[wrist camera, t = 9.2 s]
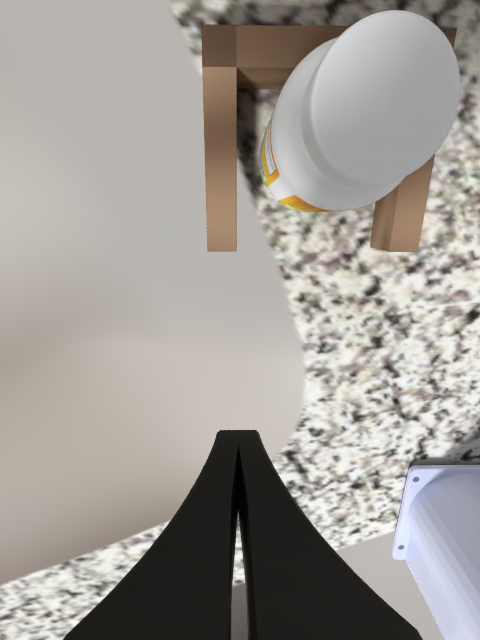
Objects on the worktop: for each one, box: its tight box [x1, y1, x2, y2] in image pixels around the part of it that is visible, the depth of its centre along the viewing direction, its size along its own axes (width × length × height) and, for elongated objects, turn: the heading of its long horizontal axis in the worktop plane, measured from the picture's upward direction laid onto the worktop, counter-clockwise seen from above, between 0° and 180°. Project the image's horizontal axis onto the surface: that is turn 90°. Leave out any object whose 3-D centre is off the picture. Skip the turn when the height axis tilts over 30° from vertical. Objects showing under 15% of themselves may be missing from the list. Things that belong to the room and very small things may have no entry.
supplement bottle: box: [259, 10, 460, 212], centre depth 13 cm, size 5×5×10 cm
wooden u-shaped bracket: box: [201, 24, 457, 252], centre depth 16 cm, size 10×11×2 cm
